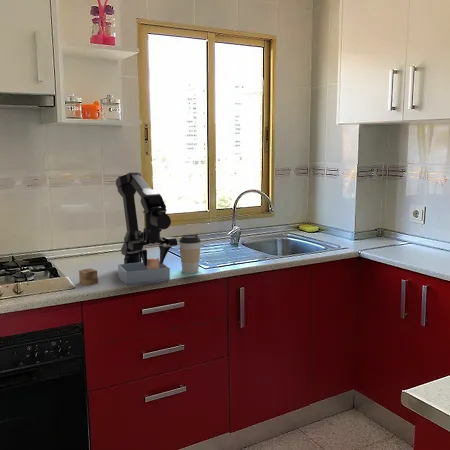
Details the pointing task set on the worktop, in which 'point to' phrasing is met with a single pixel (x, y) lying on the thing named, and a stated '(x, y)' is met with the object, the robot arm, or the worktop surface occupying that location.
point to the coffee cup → (190, 253)
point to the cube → (88, 276)
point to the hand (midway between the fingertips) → (153, 265)
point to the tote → (142, 273)
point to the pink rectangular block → (153, 263)
